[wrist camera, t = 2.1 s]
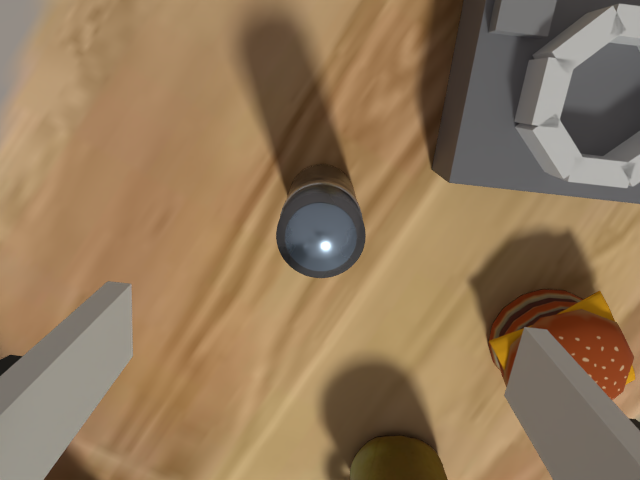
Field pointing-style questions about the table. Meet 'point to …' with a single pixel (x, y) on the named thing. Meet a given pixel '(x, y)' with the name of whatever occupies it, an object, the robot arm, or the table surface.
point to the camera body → (545, 98)
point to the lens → (321, 223)
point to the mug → (397, 460)
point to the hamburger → (567, 335)
